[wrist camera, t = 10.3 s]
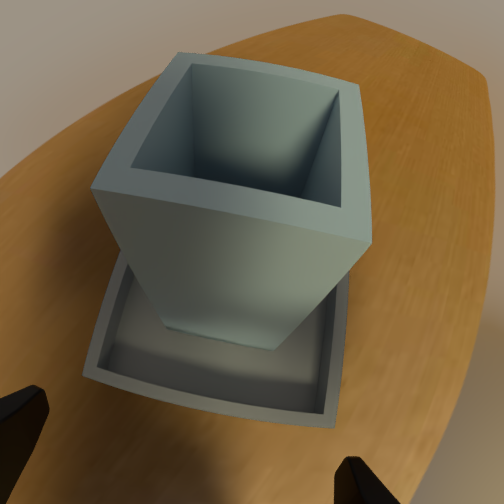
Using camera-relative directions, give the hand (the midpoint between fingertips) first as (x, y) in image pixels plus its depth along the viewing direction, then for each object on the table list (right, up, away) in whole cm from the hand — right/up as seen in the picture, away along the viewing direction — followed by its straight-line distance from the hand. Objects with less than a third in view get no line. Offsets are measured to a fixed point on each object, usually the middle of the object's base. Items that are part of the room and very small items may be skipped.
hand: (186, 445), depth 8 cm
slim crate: (+1, +3, +11) cm, 12 cm away
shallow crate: (0, +2, +12) cm, 12 cm away
